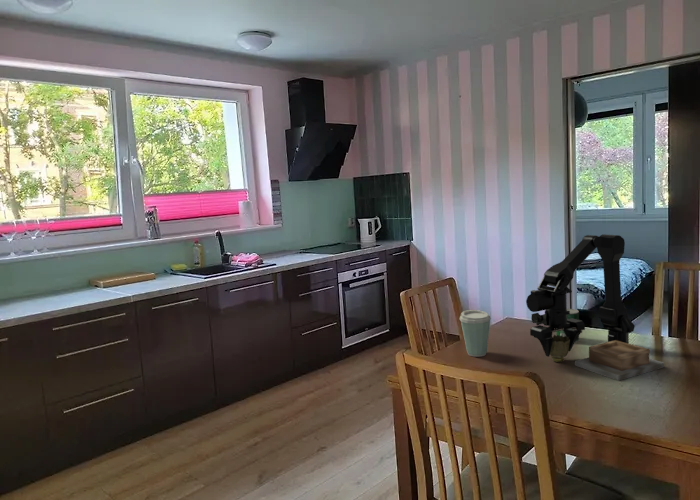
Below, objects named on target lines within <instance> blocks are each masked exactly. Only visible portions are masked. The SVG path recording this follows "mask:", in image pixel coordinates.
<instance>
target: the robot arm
mask: <svg viewBox="0 0 700 500" xmlns="http://www.w3.org/2000/svg"><path fill="white" fill-rule="evenodd" d="M625 245H626V244H625V239H624V237H623V236H621V235H620V234H606V233H605V234H601V235H594V234H593V235H592V234H586V235H583V237H582V240H581V241H580V242H579V243H577V245H576V246H575V248H573V249H572V250H571V251H570V252H569V253H568V254H567V256H565V258H564V259H563V260H561V261H560V262H558V263H555V264H554V265H551V267H549V268H548V269H546V271H545V272H544V274H543V277H542V279H541V281H540V283H539V284H538V286H537V288H536V290H535V289H534V290H533V289H532V290H530V294H528V296H527V297H526V300H525V302H526V303H525V304H526V306H527V309H528V311H530V312H531V313H532V314H531V317H530V318H531V323H533V324H536V326H532V327H531V328H530V329H529V330H530V332H529V333H530V336H532V337H533V338H536V339H537V340H538V341H539V342H540V345H541V346H542V349H543V352H544V354H545V356H546V357H550V356H551V355H550V352H551V346H552V341H553V338H551V336H552V337H553V333H556V332H557V331H561V330H563V331H564V333H565V335H566V336H567V337H569V339H570V344H569V351H568V352H571V350H572V349H573V346H574V345H575V343H576V342H575V341H576V339H577V338H578V336H579V337H580V335H581V334H582V333H583V331H585V329H586V324H585V322H584V321H583V320H581V319H579V320H577V319H573V318H572V319H567V314H570V311H568V310H567V309H568V308H567V307H568V305H567V304H568V303H567V300H568V299H567V294H572V291H573V290H572V289H570V288H569V287H568V286H569V285H570V283H571V281H572V280H573V279H574V275H575V274H574V273H575V271H576V270H577V269H578V267H580V266H581V265H582V263H583V262H584V261H585V260H586V259H587V258H588V257H589V256H590V255H591V254H592V253H593V252H594V251H595V250H596V249H597V254H598V255H599V257H600V258H601V260H602V263H603V282H604V283H603V284H604V286H603V287H604V299H605V301H604V303H603V305H602V306H599V307H598V311H599V312H598V314H599V315H598V318H599V319H600V322H601V324H602V326H603V329H607V331H608V332H607V333H608V334H607V342H610V341H614V340H617V341H621V342H624V343H628V344H630V343H629V340H630V337H629V335H630V334H632V332H634V330H635V324H634V323H633V322H632V321H631V320H630V318H629V315H628V311H627V308H626V307H625V305H624V304H623V302H622V288H621V285H622V284H621V271H620V270H621V266H620V261H621V258H622V257H623V255H624V254H625ZM542 311H544V314H540V312H542Z"/></svg>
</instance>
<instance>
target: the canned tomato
mask: <svg viewBox="0 0 700 500" xmlns="http://www.w3.org/2000/svg"><path fill="white" fill-rule="evenodd" d="M567 310H568V311H570V314H567V319H572V318H573V319H577V320H580V318H579V317H580V316H579V315H580V314H579V313H580V312H579V310H578V309H574V308H567ZM555 333H556V334H555V335H556V336H557V335H559V336H560V337H561V336H562V335H563V337H564V336H566V335H565V333H564V331H563V330H561V331H557V332H555ZM579 341H580V335H579V336H578V338H577V339H576V341H575V343H578V342H579Z"/></svg>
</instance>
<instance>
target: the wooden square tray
mask: <svg viewBox="0 0 700 500" xmlns="http://www.w3.org/2000/svg"><path fill="white" fill-rule="evenodd" d="M574 366H575V367H578V368H581V369H585V370H587V371H590V372H593V373H596V374H598V375H601V376H605V378H610V379H613V380H615V381H618V382H619V381H622V380H625V379H629V378H632V377H636V376H639V375H643V374H646V373H649V372H652V371H657V370H660V369H663V368H665V363H664V361H660V360H656V359H653V358H650V349H649V348H647V347H642V346H639V345H635V344H631V343H629V344H628V343H624V342H621V341H617V340H614V341H610V342H608V341H606V342H603V343H599V344H593V345H590V346H588V357H585V358H581V359H577V360H574Z"/></svg>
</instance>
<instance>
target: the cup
mask: <svg viewBox="0 0 700 500" xmlns="http://www.w3.org/2000/svg"><path fill="white" fill-rule="evenodd" d="M551 338H553V341H552V346H551V352H550V356H551V357H552V361H553V362H554V363H563V362H564V361H565V357H567V356H568V354H569V352H570V351H569V344H570V339H569V337H567V336H564V337H563V335H562V336H561V337H560V336H559V335H557V336H556V334H553V335H552V336H551Z"/></svg>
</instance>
